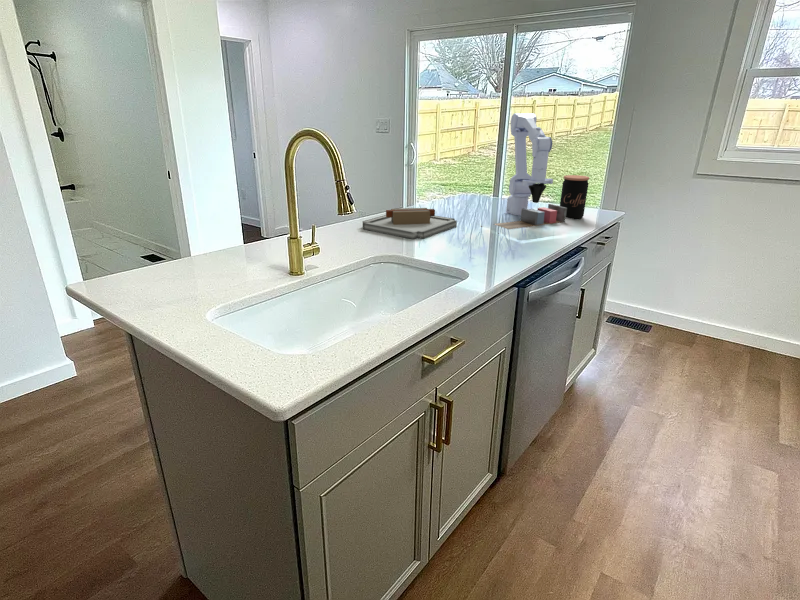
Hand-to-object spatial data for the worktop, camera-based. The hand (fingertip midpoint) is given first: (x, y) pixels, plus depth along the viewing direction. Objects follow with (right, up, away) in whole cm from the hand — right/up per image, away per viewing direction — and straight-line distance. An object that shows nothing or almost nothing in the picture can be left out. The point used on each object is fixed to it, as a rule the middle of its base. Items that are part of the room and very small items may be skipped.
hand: (535, 202), depth 193 cm
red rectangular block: (+6, -7, +6) cm, 11 cm away
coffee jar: (+21, -3, +17) cm, 27 cm away
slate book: (0, -8, +3) cm, 9 cm away
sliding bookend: (-2, -8, +2) cm, 9 cm away
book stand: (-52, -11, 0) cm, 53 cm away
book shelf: (-2, -9, +3) cm, 10 cm away
